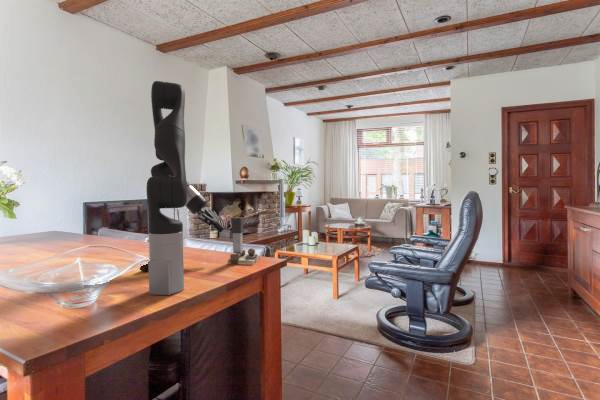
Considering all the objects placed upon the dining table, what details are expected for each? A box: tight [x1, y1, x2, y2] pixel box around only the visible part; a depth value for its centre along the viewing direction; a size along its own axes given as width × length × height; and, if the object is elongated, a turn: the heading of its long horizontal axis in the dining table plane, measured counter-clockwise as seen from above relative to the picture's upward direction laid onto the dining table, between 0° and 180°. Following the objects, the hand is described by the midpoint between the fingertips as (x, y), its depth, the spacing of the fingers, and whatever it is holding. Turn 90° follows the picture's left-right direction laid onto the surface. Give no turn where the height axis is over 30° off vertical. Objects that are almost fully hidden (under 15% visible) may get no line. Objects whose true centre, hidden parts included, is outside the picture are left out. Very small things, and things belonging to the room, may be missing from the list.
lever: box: [231, 216, 244, 256], centre depth 137 cm, size 6×4×16 cm, turn 173°
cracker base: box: [227, 248, 260, 266], centre depth 137 cm, size 10×10×5 cm
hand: (222, 230), depth 137 cm, fingers closed
